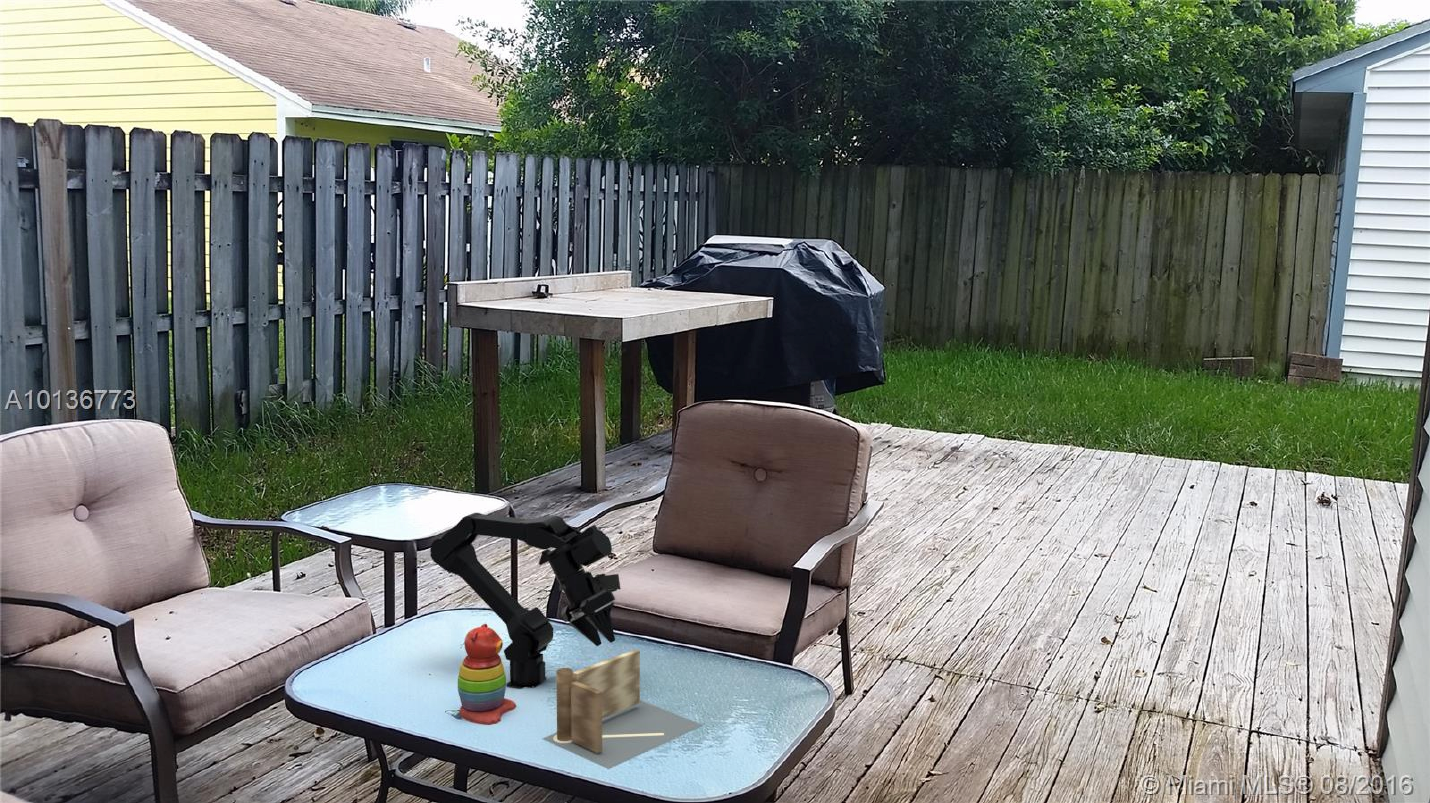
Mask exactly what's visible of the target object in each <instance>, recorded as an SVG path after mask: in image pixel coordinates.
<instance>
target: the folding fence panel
mask: <svg viewBox="0 0 1430 803" xmlns="http://www.w3.org/2000/svg"><path fill="white" fill-rule="evenodd" d="M640 655H641V651H640V650H639V649H633V650H630V651H627V652H625V653H622V654H619V655H616V656H613V657H611V658H609V659H608V658H607V659H606V660H603V661H600V662H597V663H595V664H592V665H590V666H587V667H584V668H580V669H578V670H575V671H573V682H575V681H577V682H579V683H582V684H584V685H587V686H589V687H592V688H594V689H597V690H599V691H602V718H605V717H607V716H610V715H612V714H614V713H617V712H619V711H622V710H624V709H626V708H629V707H631V706H634V705H636V704H638V703H640V697H641V696H640V694H641V693H640V692H641V690H640V688H641V686H640V685H641V680H640V678H641V674H640V673H641V666H640V665H641V656H640Z"/></svg>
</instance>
